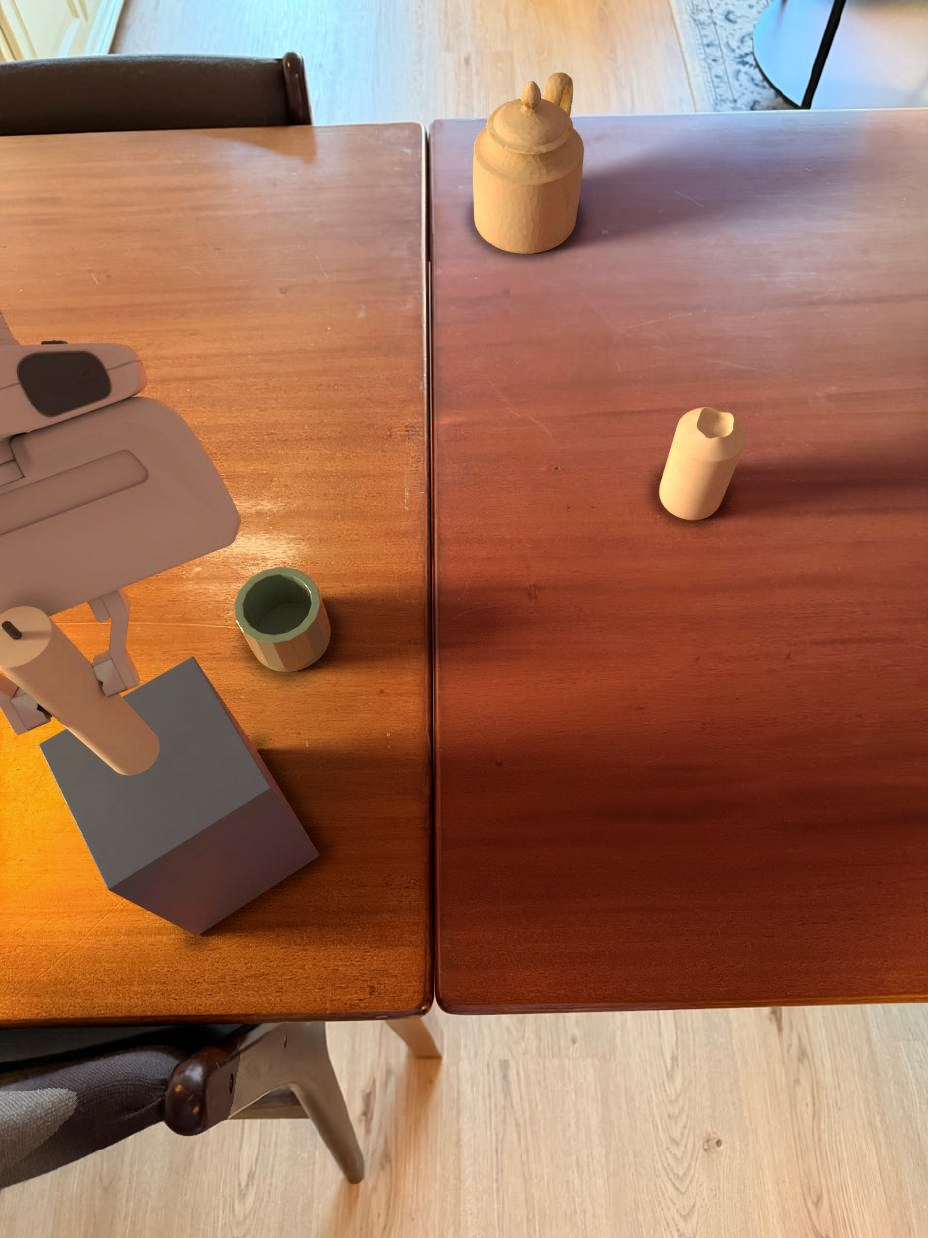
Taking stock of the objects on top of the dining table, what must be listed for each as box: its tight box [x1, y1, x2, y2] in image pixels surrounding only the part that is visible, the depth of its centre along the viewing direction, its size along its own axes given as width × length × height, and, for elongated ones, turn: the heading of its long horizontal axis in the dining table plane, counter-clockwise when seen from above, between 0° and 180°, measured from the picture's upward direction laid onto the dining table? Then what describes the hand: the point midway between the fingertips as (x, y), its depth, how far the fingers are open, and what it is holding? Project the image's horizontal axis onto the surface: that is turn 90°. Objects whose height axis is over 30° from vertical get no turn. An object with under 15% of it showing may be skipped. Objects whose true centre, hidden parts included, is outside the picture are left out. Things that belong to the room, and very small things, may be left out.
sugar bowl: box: [472, 71, 585, 255], centre depth 91 cm, size 15×11×15 cm
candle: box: [659, 406, 747, 521], centre depth 76 cm, size 6×6×10 cm
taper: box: [0, 606, 160, 775], centre depth 42 cm, size 3×3×15 cm
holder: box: [233, 566, 332, 673], centre depth 72 cm, size 7×7×6 cm
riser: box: [38, 656, 320, 937], centre depth 59 cm, size 10×10×17 cm
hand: (81, 706), depth 42 cm, fingers closed on taper, 3 cm apart
